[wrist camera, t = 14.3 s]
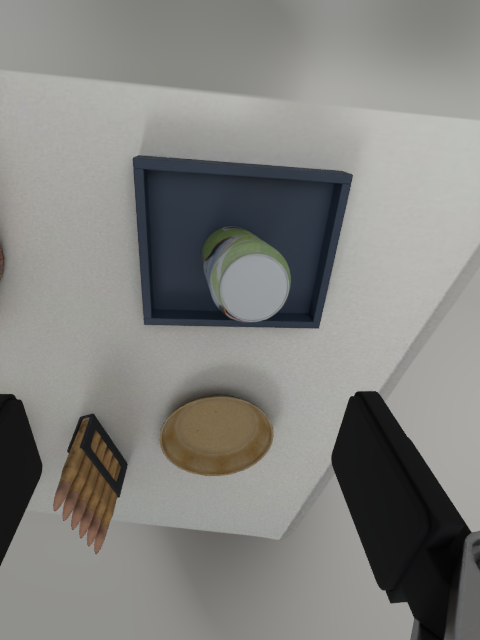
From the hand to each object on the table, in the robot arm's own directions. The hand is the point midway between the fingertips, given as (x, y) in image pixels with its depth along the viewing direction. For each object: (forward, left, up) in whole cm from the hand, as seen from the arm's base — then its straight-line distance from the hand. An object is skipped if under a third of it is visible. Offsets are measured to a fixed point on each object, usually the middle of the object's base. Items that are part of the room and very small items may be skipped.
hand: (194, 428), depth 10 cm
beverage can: (+3, +3, -26) cm, 26 cm away
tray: (+3, +4, -26) cm, 27 cm away
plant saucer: (+28, +3, -27) cm, 39 cm away
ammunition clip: (+31, -12, -27) cm, 42 cm away
